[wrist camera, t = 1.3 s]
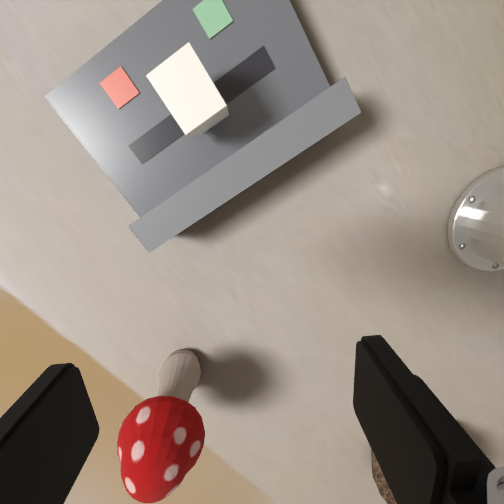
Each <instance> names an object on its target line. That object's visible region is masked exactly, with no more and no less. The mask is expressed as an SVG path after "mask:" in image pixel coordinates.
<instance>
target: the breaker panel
mask: <svg viewBox="0 0 504 504" xmlns="http://www.w3.org/2000/svg"><path fill="white" fill-rule="evenodd" d="M188 42H189V43H190V45H191V46H192V48H193V50H194V51H195V53H196V55H197V56H198V58H199V60H200V61H201V63H202V65H203V66H204V68H205V70H206V72H207V73H208V75H209V77H210V78H211V80H212V82H213V83H214V85H215V87H216V88H217V90H218V92H219V93H220V95H221V97H222V98H223V100H224V102H225V103H226V105H227V109H228V113H229V115H228V116H227V117H225V118H224V119H223V120H221V121H220V122H218V123H217V124H216V125H214V126H213V127H211V128H210V129H209V130H207V131H206V132H204V133H203V134H202V135H200V136H199V137H197V138H196V139H195V140H194V139H192V138H190V137H188V136H186V135H185V134H184V132H183V131H182V129H181V128H180V126H179V125H178V123H177V122H176V120H175V119H174V117H173V116H172V114H171V113H170V111H169V110H168V108H167V107H166V105H165V104H164V102H163V101H162V99H161V98H160V96H159V95H158V93H157V92H156V90H155V89H154V87H153V86H152V84H151V83H150V81H149V80H148V78H147V77H146V75H147V74H148V73H150V72H151V71H152V70H153V69H155V68H156V67H157V66H159V65H160V64H161V63H162V62H164V61H165V60H166V59H168V58H169V57H170V56H171V55H173V54H174V53H175V52H177V51H178V50H179V49H180V48H182V47H183V46H184V45H186V44H187V43H188ZM45 98H46V99H47V101H48V102H49V103H50V105H51V106H52V107H53V108H54V110H55V111H56V112H57V113H58V115H59V116H60V117H61V118H62V120H63V121H64V122H65V123H66V125H67V126H68V127H69V128H70V130H71V131H72V132H73V133H74V135H75V136H76V137H77V138H78V140H79V141H80V142H81V144H82V145H83V146H84V147H85V149H86V150H87V151H88V152H89V154H90V155H91V156H92V157H93V159H94V160H95V161H96V162H97V164H98V165H99V166H100V167H101V169H102V170H103V171H104V172H105V174H106V175H107V176H108V178H109V179H110V180H111V181H112V183H113V184H114V185H115V186H116V188H117V189H118V190H119V191H120V193H121V194H122V195H123V196H124V198H125V199H126V200H127V201H128V203H129V204H130V205H131V206H132V208H133V209H134V210H135V212H136V213H137V214H138V215H139V217H140V218H139V219H138V220H136V221H135V222H133V223H132V224H130V225H129V226H128V227H129V229H130V230H131V231H132V232H133V233H134V235H135V236H136V237H137V238H138V240H139V241H140V242H141V243H142V244H143V246H144V247H145V248H146V249H147V251H148V252H149V253H150V252H151V251H153V250H154V249H156V248H157V247H159V246H160V245H162V244H163V243H165V242H166V241H168V240H169V239H171V238H172V237H174V236H176V235H177V234H179V233H180V232H182V231H183V230H185V229H186V228H188V227H189V226H191V225H192V224H194V223H195V222H197V221H198V220H200V219H201V218H203V217H204V216H206V215H207V214H209V213H210V212H212V211H213V210H215V209H216V208H218V207H219V206H221V205H222V204H224V203H225V202H227V201H228V200H230V199H231V198H233V197H234V196H236V195H237V194H239V193H240V192H242V191H243V190H245V189H246V188H248V187H250V186H251V185H253V184H254V183H256V182H257V181H259V180H260V179H262V178H263V177H265V176H266V175H268V174H269V173H271V172H272V171H274V170H275V169H277V168H278V167H280V166H281V165H283V164H284V163H286V162H287V161H289V160H290V159H292V158H293V157H295V156H296V155H298V154H299V153H301V152H302V151H304V150H305V149H307V148H308V147H310V146H311V145H313V144H314V143H316V142H317V141H319V140H320V139H322V138H324V137H325V136H327V135H328V134H330V133H331V132H333V131H334V130H336V129H337V128H339V127H340V126H342V125H343V124H345V123H346V122H348V121H349V120H351V119H352V118H354V117H355V116H357V115H358V114H360V113H361V111H360V108H359V106H358V104H357V102H356V99H355V97H354V95H353V93H352V90H351V88H350V86H349V84H348V82H347V79H346V77H344V78H343V79H341V80H340V81H338V82H337V83H335V84H334V85H332V86H331V87H330V85H329V83H328V81H327V79H326V77H325V75H324V72H323V70H322V68H321V66H320V64H319V62H318V60H317V57H316V55H315V53H314V51H313V49H312V47H311V45H310V43H309V40H308V38H307V36H306V34H305V32H304V30H303V28H302V26H301V23H300V21H299V19H298V17H297V15H296V13H295V11H294V9H293V6H292V4H291V2H290V0H162V1H161V2H160V3H159V4H157V5H156V6H155V7H154V8H153V9H151V10H150V11H149V12H148V13H146V14H145V15H144V16H143V17H142V18H140V19H139V20H138V21H137V22H135V23H134V24H133V25H132V26H131V27H129V28H128V29H127V30H126V31H124V32H123V33H122V34H121V35H119V36H118V37H117V38H116V39H115V40H113V41H112V42H111V43H110V44H108V45H107V46H106V47H105V48H104V49H102V50H101V51H100V52H99V53H97V54H96V55H95V56H94V57H93V58H91V59H90V60H89V61H88V62H86V63H85V64H84V65H83V66H82V67H80V68H79V69H78V70H77V71H75V72H74V73H73V74H72V75H70V76H69V77H68V78H67V79H66V80H64V81H63V82H62V83H61V84H59V85H58V86H57V87H56V88H55V89H53V90H52V91H51V92H50V93H48V94H47V95H46V96H45Z"/></svg>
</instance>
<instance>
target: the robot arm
mask: <svg viewBox="0 0 504 504" xmlns="http://www.w3.org/2000/svg"><path fill="white" fill-rule="evenodd" d="M447 234H448V242H449V245H450V248H451V250H452V252H453V253H454V255H455V256H456V257H457V258H458V259H459V260H460V261H461V262H462V263H464V264H466V265H468V266H470V267H472V268H475V269H477V270H482V271H499V270H504V166H501V167H498V168H496V169H493V170H491V171H489V172H487V173H485V174H484V175H482V176H480V177H479V178H478V179H476V180H475V181H474V182H473V183H471V184H470V185H469V186H468V187H467V189H466V190H465V191H464V192H463V193H462V194H461V196H460V197H459V199H458V200H457V202H456V203H455V206H454V208H453V210H452V212H451V215H450V218H449V222H448V231H447ZM353 406H354V410H355V413H356V416H357V418H358V420H359V422H360V425H361V427H362V429H363V431H364V433H365V435H366V438H367V440H368V442H369V444H370V446H371V449H372V451H373V453H374V455H375V457H376V459H377V462H378V464H379V466H380V468H381V470H382V473H383V475H384V477H385V479H386V481H387V483H388V486H389V488H390V490H391V492H392V494H393V497H394V499H395V501H396V503H397V504H504V467H500V468H495V466H494V465H493V464H492V463H491V462H490V460H489V459H488V458H487V457H486V456H485V454H484V453H483V452H482V451H481V450H480V448H479V447H478V446H477V445H476V444H475V442H474V441H473V440H472V439H471V438H470V437H469V435H468V434H467V433H466V432H465V431H464V429H463V428H462V427H461V426H460V425H459V423H458V422H457V421H456V420H455V419H454V417H453V416H452V415H451V414H450V413H449V411H448V410H447V409H446V408H445V407H444V405H443V404H442V403H441V402H440V401H439V399H438V398H437V397H436V396H435V395H434V393H433V392H432V391H431V390H430V389H429V387H428V386H427V385H426V384H425V383H424V382H423V380H422V379H421V378H419V377H418V376H416V375H413V374H412V372H411V371H410V370H409V369H408V368H407V366H406V365H405V364H404V363H403V361H402V360H401V359H400V358H399V357H398V355H397V354H396V353H395V352H394V350H393V349H392V348H391V347H390V345H389V344H388V343H387V342H386V341H385V339H384V338H383V337H382V336H381V335H373V336H363V337H362V338H361V341H358V342H357V344H356V359H355V377H354V395H353ZM98 434H99V425H98V422H97V419H96V416H95V413H94V410H93V407H92V404H91V402H90V399H89V396H88V393H87V390H86V388H85V385H84V381H83V379H82V376H81V373H80V370H79V368H77V367H75V366H74V365H73V364H72V363H66V364H54V365H51V366H49V367H48V368H47V369H46V370H45V371H44V372H43V373H42V374H41V375H40V377H39V378H38V379H37V380H36V381H35V382H34V383H33V384H32V385H31V386H30V387H29V388H28V389H27V390H26V391H25V392H24V393H23V395H22V396H21V397H20V398H19V399H18V400H17V401H16V402H15V403H14V404H13V405H12V406H11V407H10V408H9V409H8V411H7V412H6V413H5V414H4V415H3V416H2V417H1V418H0V504H64V502H65V500H66V497H67V496H68V494H69V492H70V490H71V488H72V486H73V484H74V482H75V480H76V479H77V476H78V475H79V473H80V470H81V469H82V467H83V465H84V463H85V461H86V459H87V457H88V455H89V453H90V452H91V450H92V447H93V446H94V443H95V442H96V440H97V438H98Z"/></svg>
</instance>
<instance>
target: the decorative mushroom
mask: <svg viewBox="0 0 504 504" xmlns="http://www.w3.org/2000/svg"><path fill="white" fill-rule="evenodd" d="M200 376H201V369H200V364H199V359H198V358H197V356H196V355H195V354H194V353H193V352H192V351H189V350H185V349H181V350H177V351H175V352H174V353H172V354H171V355H170V356H169V357H168V358H167V359H166V361H165V362H164V363H163V364H162V367H161V369H160V389H159V395H158V396H157V397H153V398H149V399H146V400H145V401H143V402H141V403H140V404H138V405H137V406H135V408H134V409H133V410H132V411H131V412H130V413H129V415H128V416H127V417H126V418H125V419H124V421H123V424H122V426H121V429H120V431H119V436H118V442H117V443H118V445H117V447H118V456H119V459H120V463H121V476H122V480H123V483H124V486H125V488H126V490H127V492H128V493H129V494H130V495H131V497H132V498H134V499H135V500H138V501H139V502H143V503H154V502H157V501H160V500H162V499H164V498H165V497H167V496H168V495H170V494H171V493H172V492H173V491H174V490H175V489H176V488H177V487H178V486H179V484H180V483H181V482H182V480H183V478H184V477H185V474H186V473H187V472H188V471H189V470H190V469H191V468H192V467H193V466H194V465H195V463H196V461H197V459H198V458H199V456H200V453H201V451H202V448H203V445H204V438H205V430H204V425H203V421H202V417H201V416H200V414H199V413H198V411H197V410H196V408H195V407H193V406H192V405H191V404H189V403H188V402H189V399H190V396H191V394H192V391H193V390H194V389H195V387H196V386H197V384H198V382H199V380H200Z"/></svg>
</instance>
